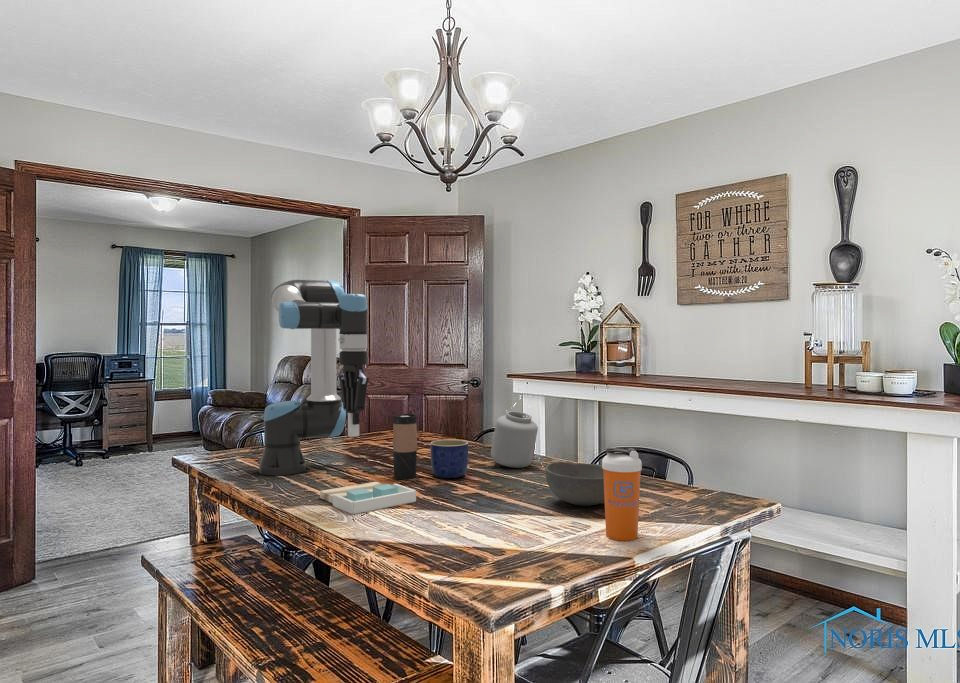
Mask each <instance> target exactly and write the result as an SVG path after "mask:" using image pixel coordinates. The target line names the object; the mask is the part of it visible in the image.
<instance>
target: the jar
mask: <svg viewBox="0 0 960 683" xmlns="http://www.w3.org/2000/svg"><path fill="white" fill-rule="evenodd" d="M521 396H522V395H519V400H521V399H522V398H521ZM514 403H515V404H513V406H512V407H513V408H514V407H515V406H516V404H517V402H514ZM525 405H527V403H525ZM529 407H530V408H531V405H529ZM529 407H528V408H529ZM493 431H494V432H493V437H492V443H491V450H490V457H491V459H492V461H494V462H495V463H496V464H498V465H501V466H503V467H506V468H513V469H523V468H527V467H529V466H530V465H531V464H532V462H533V457H534V452H535V447H536V440H537V436H538V431H539V427H538V425H537V423H536V422H534V421H533V420H532V415H531V414H528V413H525V412H523V411H522V412H521V411H516V410H515V411H514V410H510V411H508V410H507V409H506V412H505V415H504V414H503V415H502V416H499V417H498V418H497V419H496V421H495V426H494V430H493ZM539 459H541V458H540V457H538V462H539V461H540V460H539ZM540 464H541V465H542V464H543V463H542V462H541V463H540ZM542 467H544V465H542Z"/></svg>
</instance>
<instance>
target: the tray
mask: <svg viewBox="0 0 960 683" xmlns="http://www.w3.org/2000/svg"><path fill="white" fill-rule="evenodd" d="M392 486H395V487H398V493H396V494H391V495H385V496H380V497H375V498H373V497H372V498H369V499H364V500H359V501H352V500H349V499H347V498H344V497H342V496H340V495H337V494H334V495H333V503H332V506H333V507H335V508H336V509H340V510H341V511H344V512H346V513H348V514H350V515H356V514H362V513H366V512H371V511H376V510H380V509H386V508H391V507H396V506H401V505H406V504H411V503H412V504H413V503H416V501H417V490H416V489H414V488H410V487H408V486H404V485H401V484H400V483H399V484H398V483H393V484H392Z"/></svg>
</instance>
